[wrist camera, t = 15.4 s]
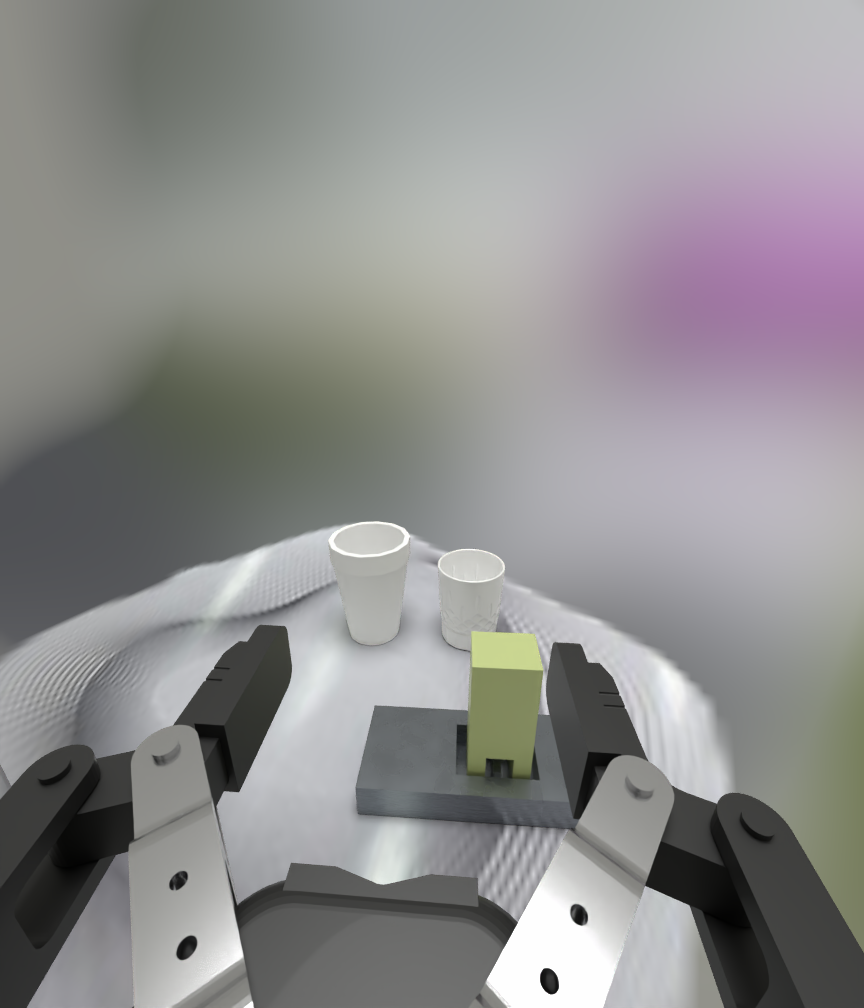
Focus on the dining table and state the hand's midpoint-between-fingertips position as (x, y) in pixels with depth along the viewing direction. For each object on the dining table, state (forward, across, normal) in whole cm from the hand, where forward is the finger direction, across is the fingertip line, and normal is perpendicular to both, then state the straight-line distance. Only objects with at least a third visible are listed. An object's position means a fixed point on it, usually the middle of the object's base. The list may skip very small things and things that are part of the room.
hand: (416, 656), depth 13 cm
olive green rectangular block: (+16, -6, +26) cm, 31 cm away
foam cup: (+35, +8, +28) cm, 46 cm away
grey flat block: (+16, -5, +27) cm, 32 cm away
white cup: (+35, -4, +28) cm, 45 cm away
